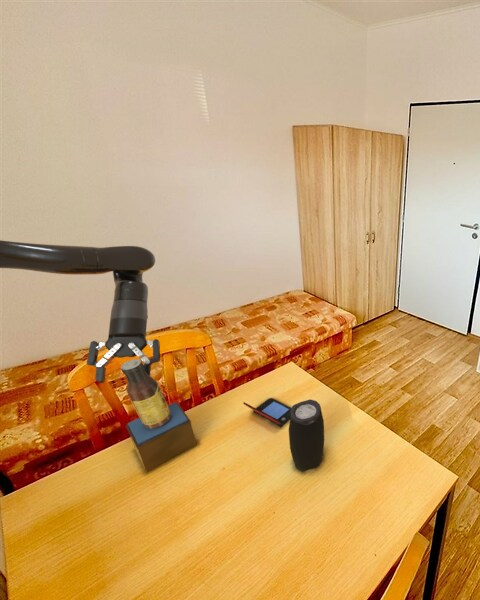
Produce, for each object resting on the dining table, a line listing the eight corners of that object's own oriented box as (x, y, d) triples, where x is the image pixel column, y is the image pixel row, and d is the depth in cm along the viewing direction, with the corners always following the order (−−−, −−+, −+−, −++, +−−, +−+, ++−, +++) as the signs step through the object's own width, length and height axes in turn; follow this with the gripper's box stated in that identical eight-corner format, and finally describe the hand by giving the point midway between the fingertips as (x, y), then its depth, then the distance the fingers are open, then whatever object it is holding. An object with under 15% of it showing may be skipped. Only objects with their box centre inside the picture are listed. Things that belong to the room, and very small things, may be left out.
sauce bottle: (177, 416, 88) (154, 361, 78) (153, 433, 83) (126, 376, 73) (161, 407, 90) (138, 353, 80) (137, 423, 85) (109, 367, 75)
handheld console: (297, 413, 107) (296, 396, 104) (272, 435, 98) (270, 417, 95) (270, 399, 112) (268, 382, 108) (244, 419, 103) (241, 401, 100)
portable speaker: (285, 465, 89) (280, 413, 81) (308, 442, 97) (306, 392, 89) (308, 480, 86) (305, 428, 78) (330, 455, 93) (330, 405, 85)
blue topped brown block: (146, 473, 84) (136, 447, 80) (135, 450, 89) (125, 424, 85) (197, 446, 92) (190, 420, 88) (184, 426, 98) (177, 402, 94)
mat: (138, 444, 80) (137, 443, 80) (128, 424, 85) (127, 423, 85) (187, 420, 88) (187, 419, 88) (175, 403, 93) (175, 402, 93)
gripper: (88, 316, 78) (80, 383, 74) (159, 316, 85) (155, 377, 81) (98, 322, 84) (91, 384, 81) (164, 321, 91) (160, 378, 88)
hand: (123, 381), depth 81 cm, fingers open, 8 cm apart
